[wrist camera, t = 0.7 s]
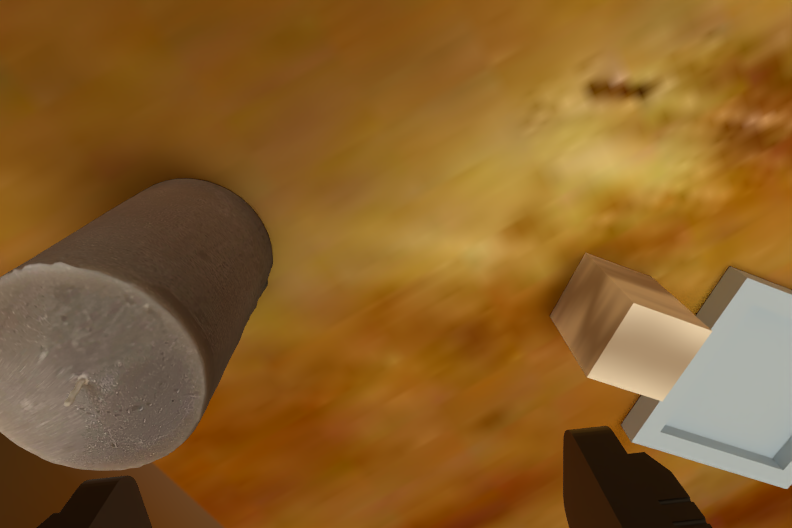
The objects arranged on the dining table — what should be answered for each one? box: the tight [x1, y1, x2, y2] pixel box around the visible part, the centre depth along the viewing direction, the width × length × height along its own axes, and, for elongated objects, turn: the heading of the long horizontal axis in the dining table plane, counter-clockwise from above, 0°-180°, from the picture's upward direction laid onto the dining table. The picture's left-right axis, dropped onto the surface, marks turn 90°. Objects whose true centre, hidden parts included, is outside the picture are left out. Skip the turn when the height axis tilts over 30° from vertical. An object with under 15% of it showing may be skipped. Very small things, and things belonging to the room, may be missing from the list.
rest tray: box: [621, 267, 792, 489], centre depth 37 cm, size 14×14×2 cm
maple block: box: [550, 253, 712, 402], centre depth 32 cm, size 5×5×7 cm
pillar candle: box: [0, 178, 273, 470], centre depth 26 cm, size 10×10×15 cm
